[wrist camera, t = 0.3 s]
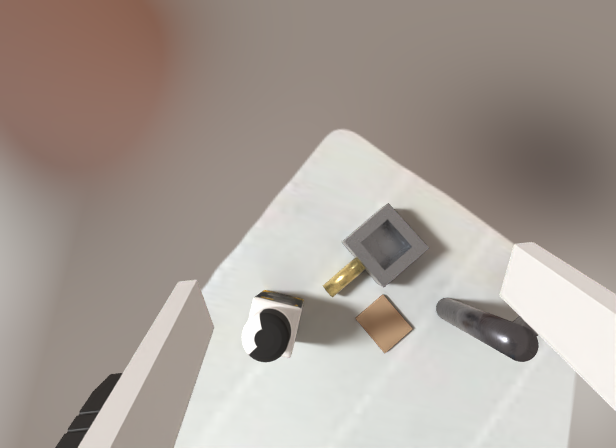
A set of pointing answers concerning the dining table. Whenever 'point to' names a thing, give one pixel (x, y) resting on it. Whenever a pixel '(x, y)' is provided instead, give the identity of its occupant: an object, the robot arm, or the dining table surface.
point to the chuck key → (491, 329)
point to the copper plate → (383, 323)
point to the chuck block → (379, 250)
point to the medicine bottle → (272, 326)
